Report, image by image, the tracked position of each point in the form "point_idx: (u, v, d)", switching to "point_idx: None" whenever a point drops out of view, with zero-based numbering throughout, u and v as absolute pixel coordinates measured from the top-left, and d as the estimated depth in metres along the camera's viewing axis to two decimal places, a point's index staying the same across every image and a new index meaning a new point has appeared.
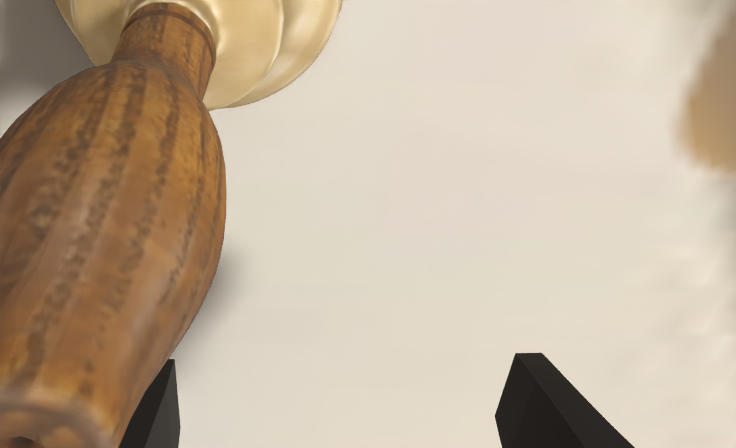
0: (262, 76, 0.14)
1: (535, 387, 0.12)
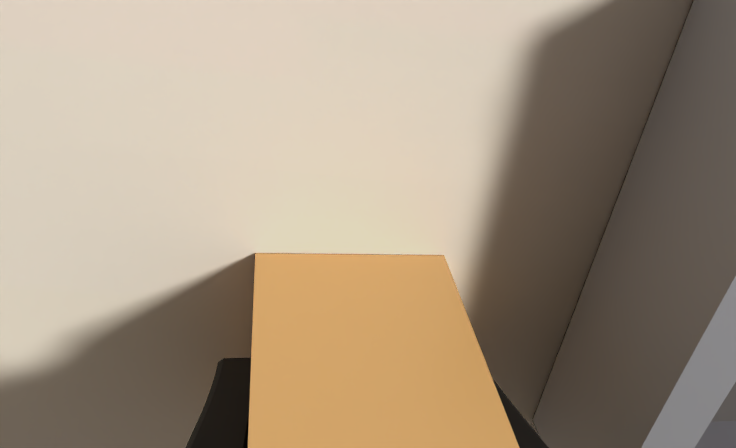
0: None
1: None
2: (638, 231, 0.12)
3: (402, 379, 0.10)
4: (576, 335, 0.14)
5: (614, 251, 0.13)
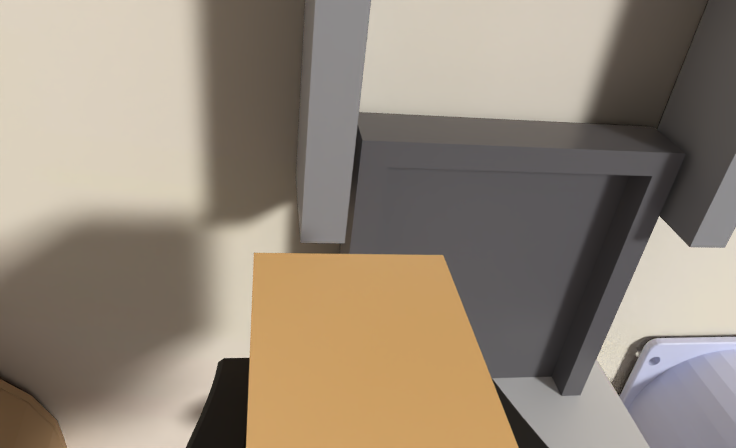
0: None
1: None
2: None
3: (400, 378, 0.10)
4: (302, 76, 0.17)
5: None
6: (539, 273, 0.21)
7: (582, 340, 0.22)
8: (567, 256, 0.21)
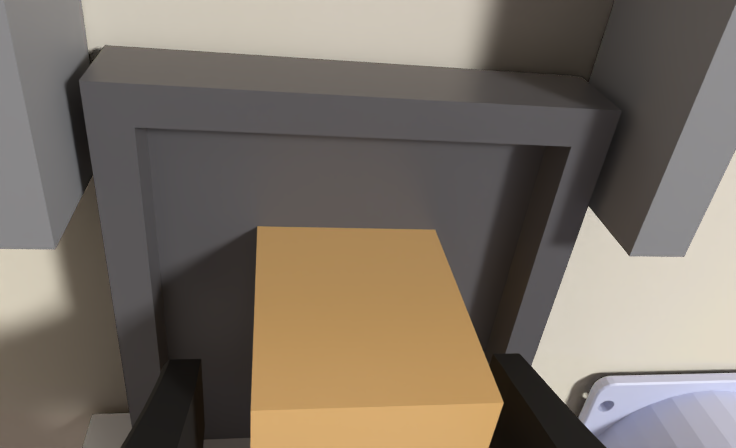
0: None
1: (511, 388, 0.12)
2: None
3: (393, 337, 0.11)
4: None
5: None
6: None
7: None
8: (464, 268, 0.15)
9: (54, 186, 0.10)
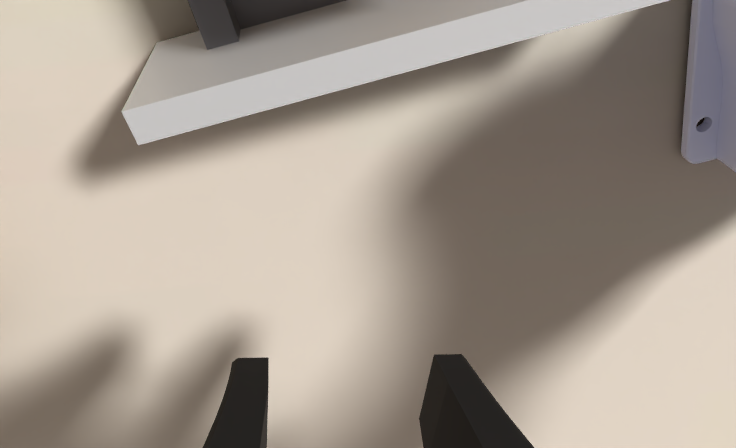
0: None
1: (447, 389, 0.12)
2: None
3: None
4: None
5: None
6: None
7: None
8: None
9: None
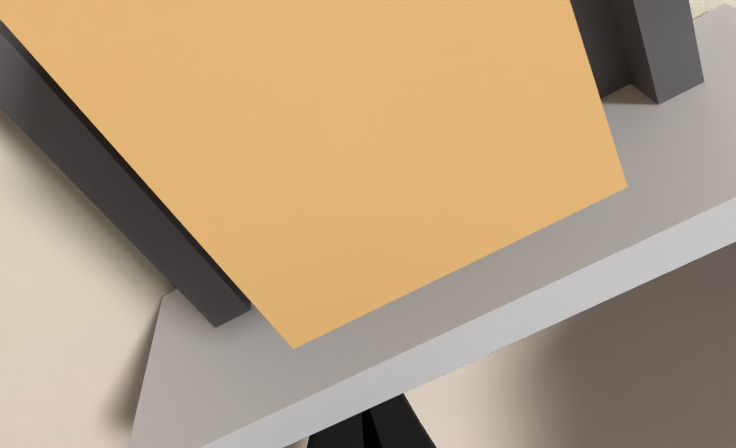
0: None
1: None
2: None
3: None
4: None
5: None
6: None
7: None
8: None
9: None
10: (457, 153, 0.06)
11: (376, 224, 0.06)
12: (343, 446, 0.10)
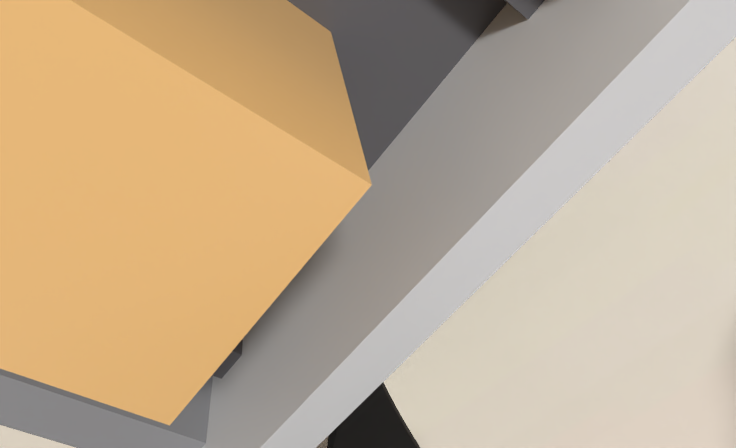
0: None
1: None
2: None
3: None
4: None
5: None
6: None
7: None
8: None
9: None
10: (177, 225, 0.06)
11: (157, 306, 0.06)
12: (363, 445, 0.10)
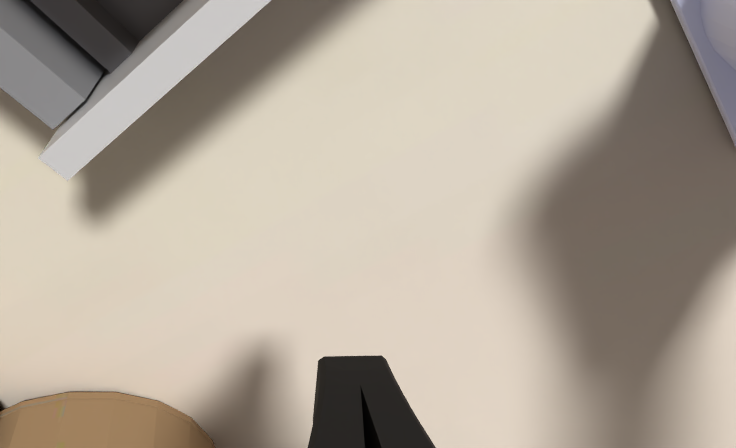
0: None
1: None
2: None
3: None
4: None
5: None
6: None
7: None
8: None
9: (58, 64, 0.15)
10: None
11: None
12: (344, 446, 0.10)
